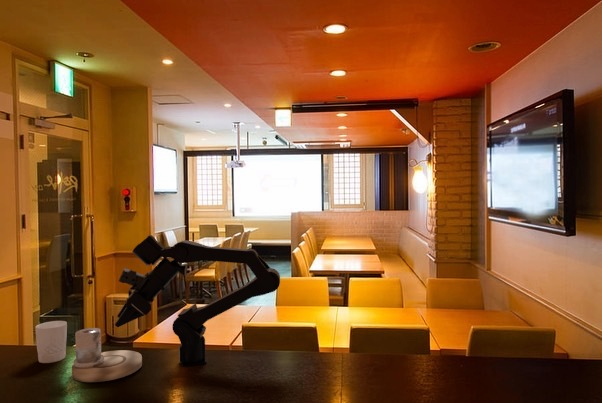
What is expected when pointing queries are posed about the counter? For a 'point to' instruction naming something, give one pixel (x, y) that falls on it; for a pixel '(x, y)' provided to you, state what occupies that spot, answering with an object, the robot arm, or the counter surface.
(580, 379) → the counter surface
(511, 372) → the counter surface
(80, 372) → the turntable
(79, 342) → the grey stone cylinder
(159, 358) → the counter surface
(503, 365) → the counter surface
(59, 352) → the white cup
